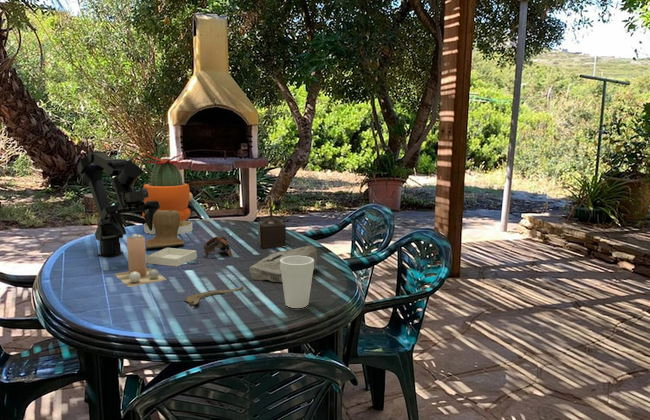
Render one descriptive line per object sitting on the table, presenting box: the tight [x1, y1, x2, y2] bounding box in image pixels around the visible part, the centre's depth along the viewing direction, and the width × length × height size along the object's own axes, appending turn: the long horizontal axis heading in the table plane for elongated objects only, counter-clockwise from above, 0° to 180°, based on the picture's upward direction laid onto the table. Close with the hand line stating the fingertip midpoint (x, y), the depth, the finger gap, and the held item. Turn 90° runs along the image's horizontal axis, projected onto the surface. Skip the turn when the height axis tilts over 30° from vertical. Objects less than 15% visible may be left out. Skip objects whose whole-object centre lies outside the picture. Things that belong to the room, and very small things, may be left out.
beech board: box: [113, 267, 168, 288], centre depth 161 cm, size 16×12×1 cm
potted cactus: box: [142, 154, 193, 235], centre depth 225 cm, size 22×22×35 cm
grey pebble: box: [149, 269, 160, 279], centre depth 159 cm, size 3×3×3 cm
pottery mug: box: [202, 235, 233, 258], centre depth 191 cm, size 12×10×8 cm
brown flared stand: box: [145, 210, 185, 249], centre depth 201 cm, size 15×12×15 cm
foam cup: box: [280, 256, 315, 309], centre depth 138 cm, size 10×9×13 cm
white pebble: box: [129, 271, 141, 282], centre depth 156 cm, size 3×3×3 cm
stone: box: [248, 245, 318, 284], centre depth 167 cm, size 18×10×20 cm
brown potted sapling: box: [257, 198, 287, 249], centre depth 207 cm, size 16×11×18 cm
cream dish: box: [146, 247, 198, 267], centre depth 181 cm, size 13×13×3 cm
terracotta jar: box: [126, 233, 147, 277], centre depth 162 cm, size 5×5×14 cm
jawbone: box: [182, 286, 244, 307], centre depth 147 cm, size 9×20×2 cm, turn 148°
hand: (138, 232), depth 169 cm, fingers open, 9 cm apart
